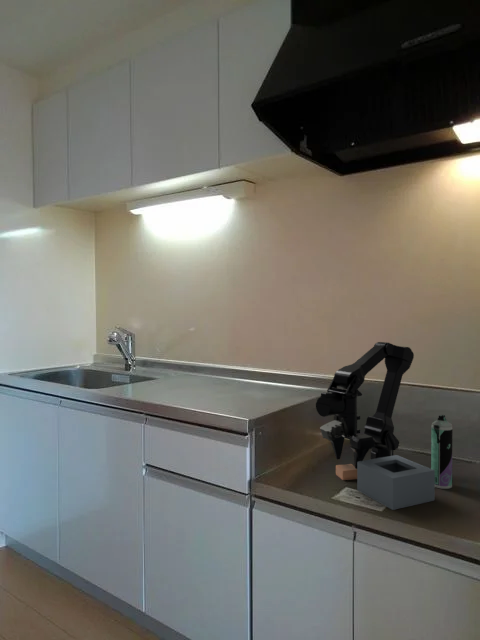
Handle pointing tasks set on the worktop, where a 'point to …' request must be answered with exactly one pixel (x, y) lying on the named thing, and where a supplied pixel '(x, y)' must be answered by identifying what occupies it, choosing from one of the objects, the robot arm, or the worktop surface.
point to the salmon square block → (346, 471)
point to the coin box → (396, 481)
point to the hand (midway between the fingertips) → (347, 463)
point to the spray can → (442, 452)
